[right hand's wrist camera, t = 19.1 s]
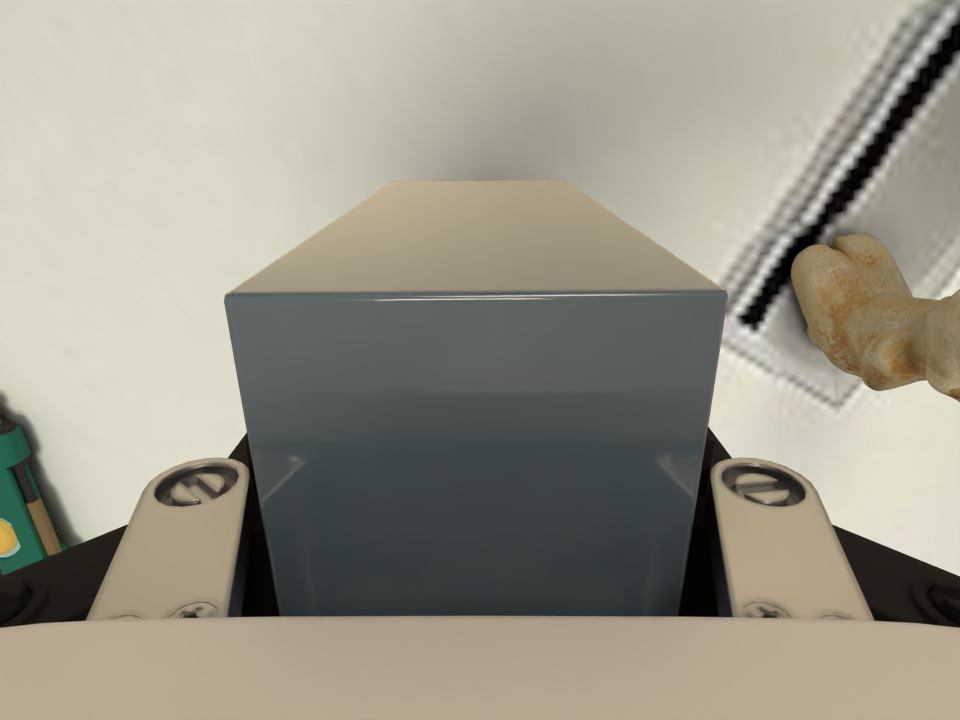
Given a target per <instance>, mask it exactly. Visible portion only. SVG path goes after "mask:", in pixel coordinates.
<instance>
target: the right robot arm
mask: <svg viewBox="0 0 960 720" xmlns="http://www.w3.org/2000/svg"><path fill="white" fill-rule="evenodd" d="M0 720H960V576H957V575H955V574H952V573H950V572H947V571H945V570H943V569H940V568H938V567H935V566H933V565H930V564H928V563H925V562H923V561H920V560H918V559H915V558H913V557H911V556H908V555H906V554H903V553H901V552H898V551H896V550H893V549H891V548H888V547H886V546H883V545H881V544H879V543H876V542H874V541H871V540H869V539H866V538H864V537H861V536H859V535H856V534H854V533H852V532H849V531H847V530H844V529H842V528H839V527H837V526H834V525H832V524H831V521H830V519H829V517H828V515H827V512H826V510H825V508H824V506H823V503H822V501H821V499H820V497H819V494H818V492H817V490H816V489H815V488H814V486H813V485H812V483H811V482H810V481H809V480H807V479H806V478H805V477H803V476H802V475H801V474H799V473H797V472H795V471H793V470H791V469H790V468H788V467H785V466H782V465H779V464H777V463H774V462H771V461H766V460H761V459H755V458H733V459H732V458H731V456H730V455H729V454H728V452H727V451H726V450H725V448H724V447H723V446H722V444H721V443H720V442H719V440H718V439H717V438H716V436H715V435H714V434H713V432H712V431H711V430H710V428H709V427H708V430H707V436H706V443H705V449H704V456H703V462H702V469H701V475H700V481H699V488H698V494H697V501H696V507H695V514H694V520H693V527H692V533H691V540H690V546H689V553H688V559H687V566H686V572H685V579H684V585H683V592H682V598H681V605H680V611H679V617H656V616H305V617H279V612H278V606H277V600H276V595H275V589H274V583H273V577H272V572H271V566H270V560H269V555H268V549H267V543H266V537H265V532H264V526H263V520H262V515H261V509H260V503H259V497H258V492H257V486H256V480H255V475H254V469H253V463H252V457H251V452H250V446H249V440H248V434H247V433H246V434H245V436H244V437H243V438H242V440H241V441H240V442H239V444H238V445H237V446H236V448H235V449H234V450H233V452H232V453H231V454H230V456H229V457H228V458H205V459H199V460H194V461H189V462H186V463H183V464H181V465H178V466H175V467H172V468H170V469H169V470H167V471H165V472H163V473H161V474H159V475H158V476H157V477H155V478H154V479H153V480H151V481H150V482H149V483H148V485H147V486H146V488H145V489H144V490H143V492H142V494H141V497H140V499H139V501H138V503H137V506H136V508H135V510H134V512H133V515H132V517H131V519H130V521H129V524H128V525H125V526H123V527H120V528H118V529H116V530H113V531H111V532H108V533H106V534H103V535H101V536H98V537H96V538H93V539H91V540H88V541H86V542H84V543H81V544H79V545H76V546H74V547H71V548H69V549H66V550H64V551H61V552H59V553H57V554H54V555H52V556H49V557H47V558H44V559H42V560H39V561H37V562H34V563H32V564H29V565H27V566H25V567H22V568H20V569H17V570H15V571H12V572H10V573H7V574H5V575H2V576H0Z"/></svg>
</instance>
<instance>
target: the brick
mask: <svg viewBox="0 0 960 720" xmlns="http://www.w3.org/2000/svg"><path fill="white" fill-rule="evenodd" d="M727 300H728V295H727V291H726V290H725V289H723V288H722V287H720V286H719V285H717V284H716V283H714V282H713V281H712V280H710V279H709V278H707V277H706V276H704V275H703V274H701V273H700V272H698V271H697V270H695V269H694V268H693V267H691V266H690V265H688V264H687V263H685V262H684V261H682V260H681V259H679V258H678V257H676V256H675V255H674V254H672V253H671V252H669V251H668V250H666V249H665V248H663V247H662V246H660V245H659V244H657V243H656V242H655V241H653V240H652V239H650V238H649V237H647V236H646V235H644V234H643V233H641V232H640V231H638V230H637V229H636V228H634V227H633V226H631V225H630V224H628V223H627V222H625V221H624V220H622V219H621V218H619V217H618V216H616V215H615V214H614V213H612V212H611V211H609V210H608V209H606V208H605V207H603V206H602V205H600V204H599V203H597V202H596V201H595V200H593V199H592V198H590V197H589V196H587V195H586V194H584V193H583V192H581V191H580V190H578V189H577V188H576V187H574V186H573V185H571V184H570V183H568V182H567V181H565V180H516V181H393V182H391V183H389V184H388V185H387V186H385V187H384V188H382V189H381V190H379V191H378V192H376V193H375V194H373V195H372V196H370V197H369V198H367V199H366V200H364V201H363V202H361V203H360V204H358V205H357V206H355V207H354V208H352V209H351V210H349V211H348V212H347V213H345V214H344V215H342V216H341V217H339V218H338V219H336V220H335V221H333V222H332V223H330V224H329V225H327V226H326V227H324V228H323V229H321V230H320V231H318V232H317V233H315V234H314V235H312V236H311V237H310V238H308V239H307V240H305V241H304V242H302V243H301V244H299V245H298V246H296V247H295V248H293V249H292V250H290V251H289V252H287V253H286V254H284V255H283V256H281V257H280V258H278V259H277V260H275V261H274V262H272V263H271V264H270V265H268V266H267V267H265V268H264V269H262V270H261V271H259V272H258V273H256V274H255V275H253V276H252V277H250V278H249V279H247V280H246V281H244V282H243V283H241V284H240V285H238V286H237V287H235V288H234V289H233V290H231V291H230V292H228V293H227V294H226V295H225V299H224V303H225V309H226V314H227V320H228V326H229V332H230V337H231V343H232V349H233V354H234V360H235V366H236V372H237V377H238V383H239V389H240V394H241V400H242V406H243V412H244V417H245V423H246V429H247V434H248V440H249V446H250V452H251V457H252V463H253V469H254V475H255V480H256V486H257V492H258V497H259V503H260V509H261V515H262V520H263V526H264V532H265V537H266V543H267V549H268V555H269V560H270V566H271V572H272V577H273V583H274V589H275V595H276V600H277V606H278V612H279V617H305V616H656V617H679V611H680V605H681V598H682V592H683V585H684V579H685V572H686V566H687V559H688V553H689V546H690V540H691V533H692V527H693V520H694V514H695V507H696V501H697V494H698V488H699V481H700V475H701V469H702V462H703V456H704V449H705V443H706V436H707V430H708V423H709V417H710V410H711V404H712V397H713V391H714V384H715V378H716V371H717V365H718V358H719V352H720V345H721V339H722V332H723V326H724V319H725V313H726V306H727Z"/></svg>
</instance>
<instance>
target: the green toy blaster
mask: <svg viewBox="0 0 960 720" xmlns="http://www.w3.org/2000/svg"><path fill="white" fill-rule="evenodd" d="M30 454H31V452H30V449H29V447H28V444H27V442H26V439H25V437H24V434H23V432H22V429H21V427H20V426H19V425H14V422H13V421H11V420H1V418H0V576H2V575H5V574H7V573H10V572H12V571H15V570H17V569H20V568H22V567H25V566H27V565H29V564H32V563H34V562H37V561H39V560H42V559H44V558H47V557H49V556H52V555H54V554H57V553H59V552H61V551H64V550H66V549H68V548H67V546H66V545H64V544H60V543H59V540H58V538H57V535H56V533H55V530H54V528H53V526H52V523H51V521H50V518H49V516H48V513H47V511H46V508H45V506H44V504H43V501H42V499H41V496H40V494H39V491H38V489H37V486H36V484H35V482H34V479H33V477H32V474H31V472H30V469H29V467H28V463H29V462H31V461H32V459H31V457H30Z"/></svg>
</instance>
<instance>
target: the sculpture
mask: <svg viewBox="0 0 960 720" xmlns="http://www.w3.org/2000/svg"><path fill="white" fill-rule="evenodd" d="M791 278H792V284H793V287H794V290H795V293H796V296H797V299H798V301H799V304H800V307H801V310H802V312H803V314H804V317H805V319H806V322H807V324H808V327H807V331H806V332H807V334H808V337H809V339H810V340H811V342H812V343H813V344H814V345H816V346H817V347H818V348H820V349H821V350H822V351H823V352H824V353H825V355H826V356H827V357H828V359H829V360H830V361H831V362H832V364H833V365H835V366H836V367H838V368H839V369H841V370H843V371H844V372H846V373H849V374H853V375H856V376H859V377H862V378H863V381H864V383H865V384H866V385H867V386H868V387H870V388H871V389H873V390H876V391H883V390H889V389H893V388H897V387H900V386H904V385H907V384H911V383H914V382H917V381H922V380H928V382H929V384H930V385H931V386H932V387H933V388H934V389H935V390H937V391H938V392H940V393H943V394H945V395H947V396H950V397H952V398H954V399H956V400H958V401H959V402H960V289H959V290H958V291H957V292H956V293H954V294H953V295H952V296H949V297H945V298H943V299H941V300H931V299H921V298H914V297H913V296H912V294H911V292H910V290H909V288H908V286H907V284H906V282H905V280H904V278H903V276H902V274H901V272H900V270H899V268H898V267H897V265H896V263H895V262H894V260H893V258H892V257H891V255H890V254H889V252H888V251H887V249H886V248H885V247H884V245H883V244H882V243H881V242H880V241H879V240H878V239H877V238H875V237H874V236H872V235H870V234H867V233H859V234H853V235H845V236H840V237H837V238H836V239H835V241H834V243H833V245H832V247H831V248H830V247H828V246H826V245H825V244H818V245H812V246H809V247H807V248H806V249H804V250H803V251H801V252H800V253H799V254H798V255H797V256H796V257H795V259H794V262H793V264H792V268H791Z"/></svg>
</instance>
